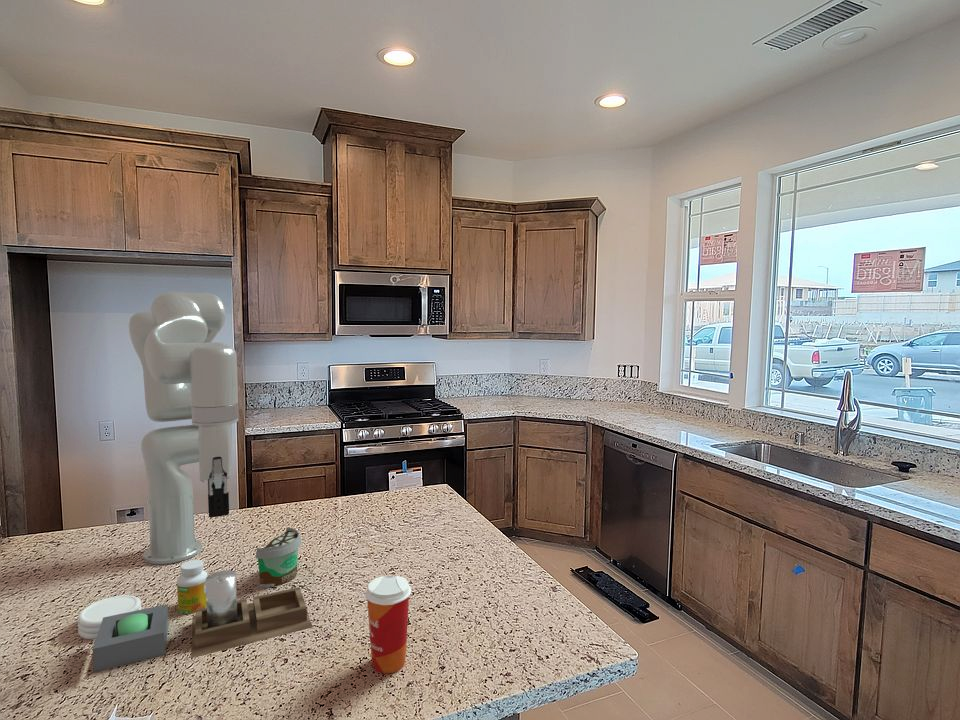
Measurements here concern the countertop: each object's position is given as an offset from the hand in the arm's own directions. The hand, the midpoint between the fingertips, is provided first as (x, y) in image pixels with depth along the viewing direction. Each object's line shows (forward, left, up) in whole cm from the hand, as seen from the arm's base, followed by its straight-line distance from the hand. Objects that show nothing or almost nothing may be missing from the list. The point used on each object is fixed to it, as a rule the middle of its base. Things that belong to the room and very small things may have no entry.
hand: (218, 506), depth 96 cm
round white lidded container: (-13, -19, -25) cm, 34 cm away
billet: (0, 0, -23) cm, 23 cm away
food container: (-15, +13, -25) cm, 32 cm away
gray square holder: (-1, -14, -24) cm, 28 cm away
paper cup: (+22, +25, -24) cm, 41 cm away
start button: (-1, -14, -23) cm, 27 cm away
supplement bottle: (-11, -5, -24) cm, 27 cm away
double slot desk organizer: (0, +5, -24) cm, 25 cm away
